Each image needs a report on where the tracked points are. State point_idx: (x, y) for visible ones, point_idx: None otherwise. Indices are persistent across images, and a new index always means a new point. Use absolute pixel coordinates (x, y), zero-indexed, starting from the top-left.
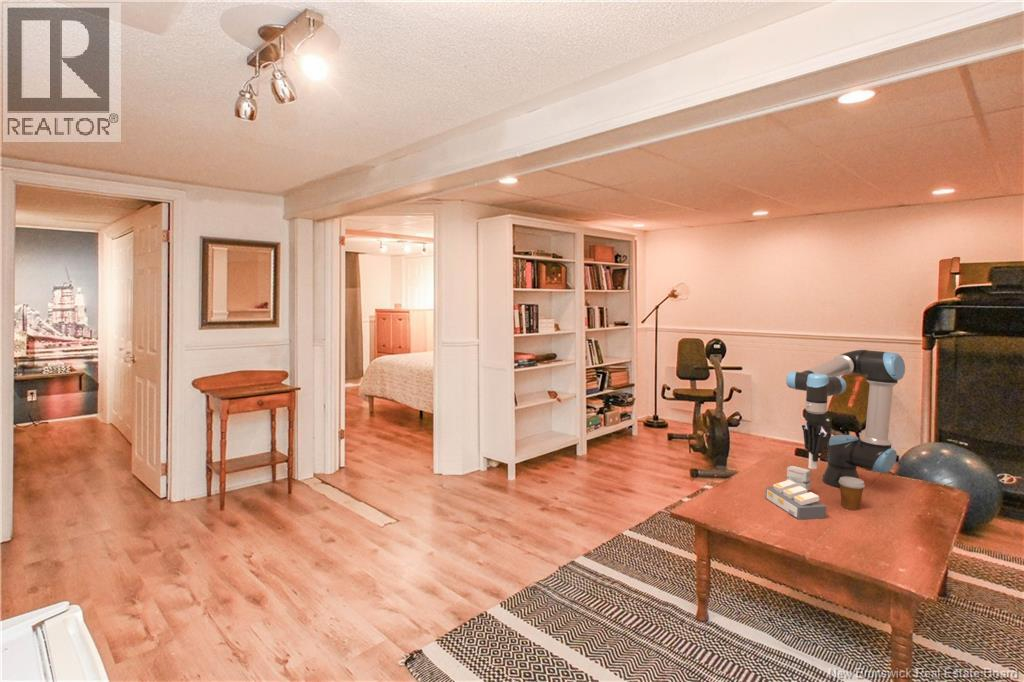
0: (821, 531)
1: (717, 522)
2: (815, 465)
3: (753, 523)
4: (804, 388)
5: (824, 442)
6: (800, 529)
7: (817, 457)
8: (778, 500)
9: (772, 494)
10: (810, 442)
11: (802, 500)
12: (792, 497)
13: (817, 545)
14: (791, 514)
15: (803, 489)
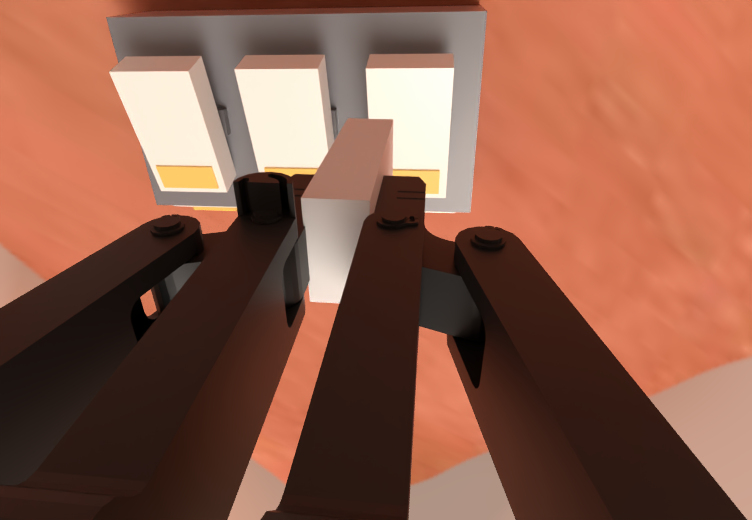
0: (618, 161)
1: (424, 469)
2: (389, 154)
3: (457, 379)
4: None
5: (679, 467)
6: (563, 244)
7: (423, 213)
8: None
9: (236, 208)
10: (255, 435)
11: (445, 187)
12: None
13: (723, 277)
14: None
15: (305, 88)
